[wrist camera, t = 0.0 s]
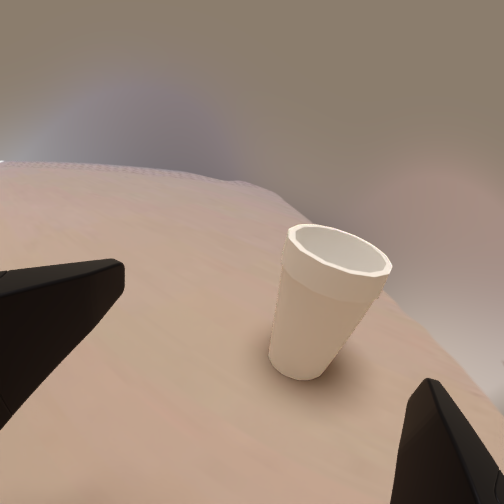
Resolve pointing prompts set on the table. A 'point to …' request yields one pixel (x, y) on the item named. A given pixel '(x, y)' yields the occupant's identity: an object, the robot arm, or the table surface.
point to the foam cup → (322, 296)
